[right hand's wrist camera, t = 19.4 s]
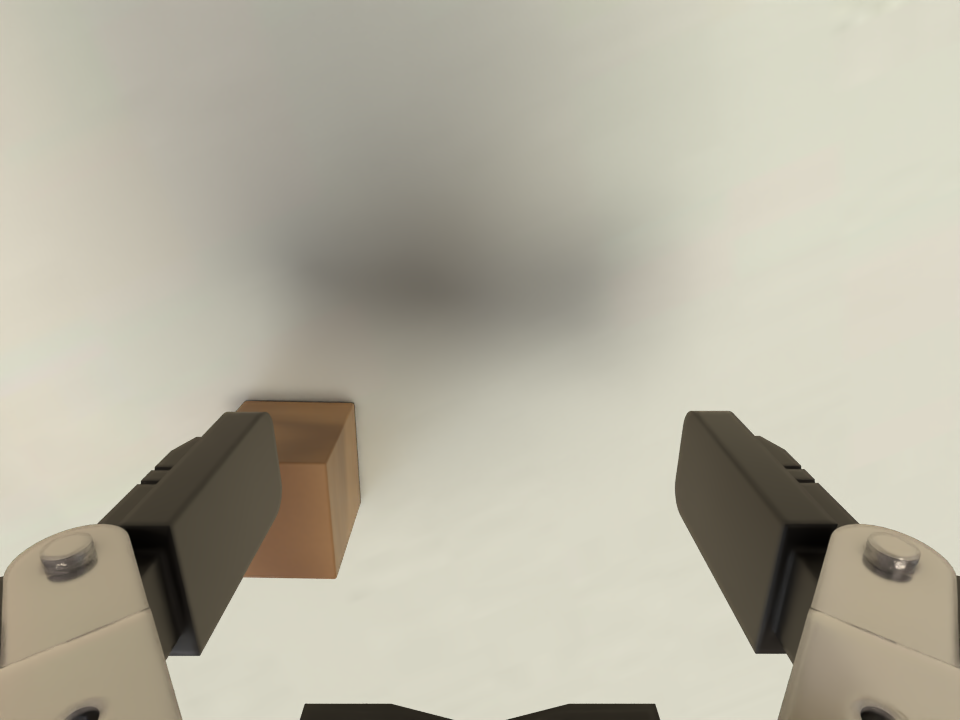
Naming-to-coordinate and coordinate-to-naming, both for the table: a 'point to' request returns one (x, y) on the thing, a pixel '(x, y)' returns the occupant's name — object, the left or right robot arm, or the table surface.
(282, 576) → the block
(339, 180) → the table surface
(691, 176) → the table surface
